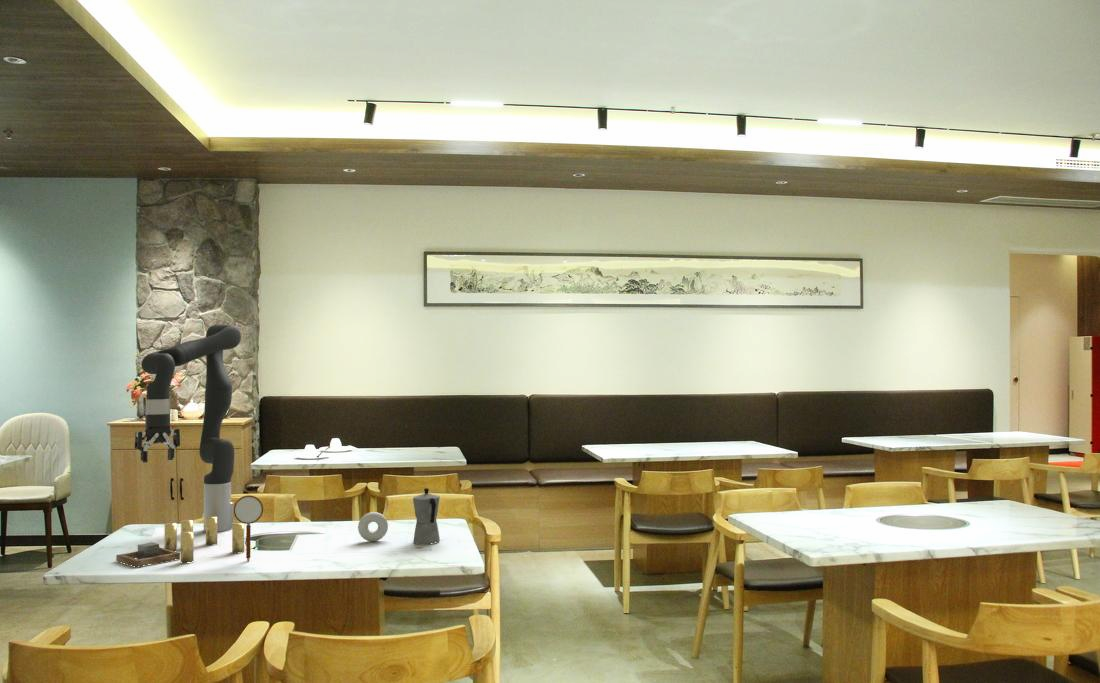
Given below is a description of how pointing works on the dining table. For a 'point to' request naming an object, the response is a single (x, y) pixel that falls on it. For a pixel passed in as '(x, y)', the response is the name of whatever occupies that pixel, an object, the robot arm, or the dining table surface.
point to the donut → (367, 520)
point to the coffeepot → (426, 518)
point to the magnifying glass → (248, 515)
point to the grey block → (148, 550)
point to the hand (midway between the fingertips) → (157, 461)
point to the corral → (130, 558)
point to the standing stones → (211, 537)
